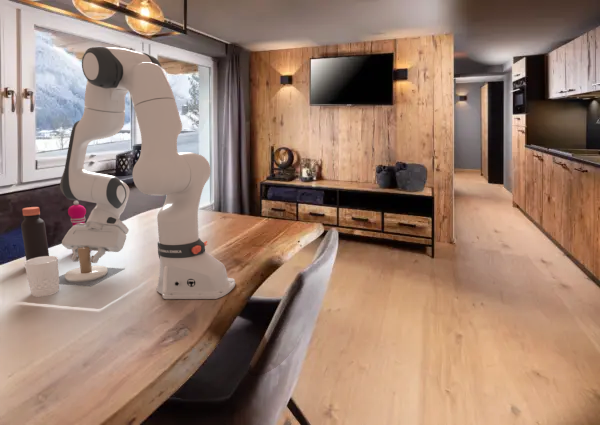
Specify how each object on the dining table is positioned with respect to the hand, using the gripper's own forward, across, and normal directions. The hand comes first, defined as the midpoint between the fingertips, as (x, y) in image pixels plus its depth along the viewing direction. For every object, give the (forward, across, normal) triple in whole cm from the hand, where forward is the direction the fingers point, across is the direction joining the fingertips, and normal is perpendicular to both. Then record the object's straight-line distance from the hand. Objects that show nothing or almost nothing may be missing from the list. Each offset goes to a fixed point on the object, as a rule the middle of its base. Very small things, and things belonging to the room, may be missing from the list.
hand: (83, 261), depth 127 cm
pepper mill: (-14, -22, +21) cm, 34 cm away
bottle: (-2, -26, +10) cm, 28 cm away
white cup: (+13, -2, -6) cm, 15 cm away
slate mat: (+3, 0, +4) cm, 5 cm away
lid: (+3, 0, +4) cm, 5 cm away
